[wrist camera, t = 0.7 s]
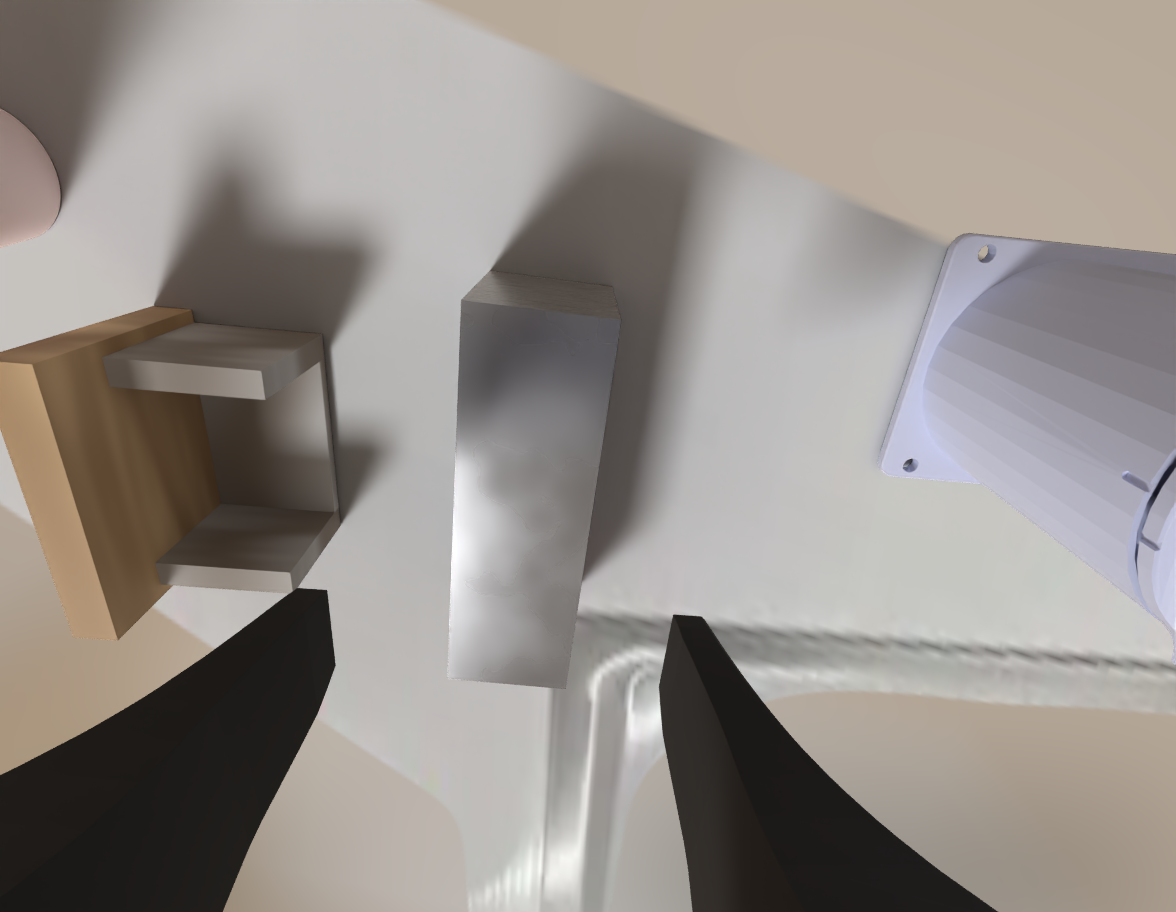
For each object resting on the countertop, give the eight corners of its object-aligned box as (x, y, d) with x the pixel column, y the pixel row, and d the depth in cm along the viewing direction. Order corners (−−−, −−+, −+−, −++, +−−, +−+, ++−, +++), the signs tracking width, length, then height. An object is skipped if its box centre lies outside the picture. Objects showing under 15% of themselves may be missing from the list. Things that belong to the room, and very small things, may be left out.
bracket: (321, 321, 19) (215, 380, 14) (341, 534, 22) (263, 649, 17) (152, 306, 19) (-25, 359, 13) (198, 523, 22) (73, 637, 17)
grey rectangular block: (490, 269, 19) (461, 299, 14) (611, 285, 19) (621, 320, 14) (473, 582, 24) (447, 678, 19) (568, 591, 24) (565, 689, 19)
